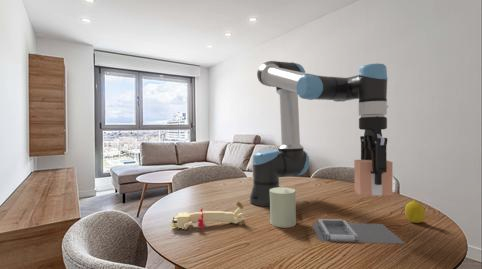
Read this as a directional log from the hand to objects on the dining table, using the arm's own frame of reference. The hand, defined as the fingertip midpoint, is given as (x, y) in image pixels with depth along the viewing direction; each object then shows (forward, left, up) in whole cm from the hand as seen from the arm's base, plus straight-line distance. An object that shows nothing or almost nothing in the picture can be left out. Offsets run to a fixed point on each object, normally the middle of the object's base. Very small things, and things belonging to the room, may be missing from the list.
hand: (372, 192), depth 75 cm
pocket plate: (-6, 0, -13) cm, 14 cm away
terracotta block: (0, 0, 0) cm, 0 cm away
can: (-27, +8, -13) cm, 31 cm away
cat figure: (-53, +4, -14) cm, 55 cm away
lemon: (+17, +9, -13) cm, 24 cm away
